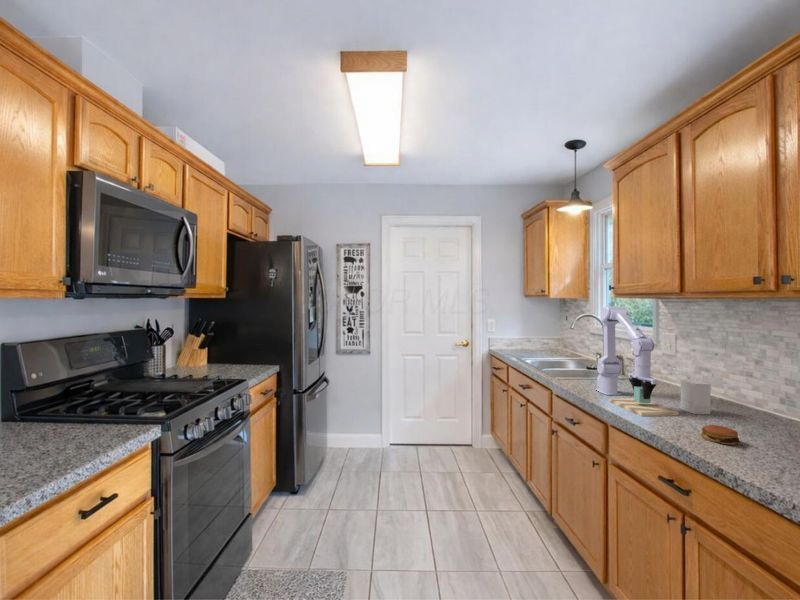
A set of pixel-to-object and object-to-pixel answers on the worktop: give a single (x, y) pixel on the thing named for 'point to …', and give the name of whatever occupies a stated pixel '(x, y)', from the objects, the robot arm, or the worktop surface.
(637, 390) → the teal block
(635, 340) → the robot arm
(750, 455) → the worktop surface
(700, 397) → the supplement box
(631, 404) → the birch board
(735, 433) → the burger
